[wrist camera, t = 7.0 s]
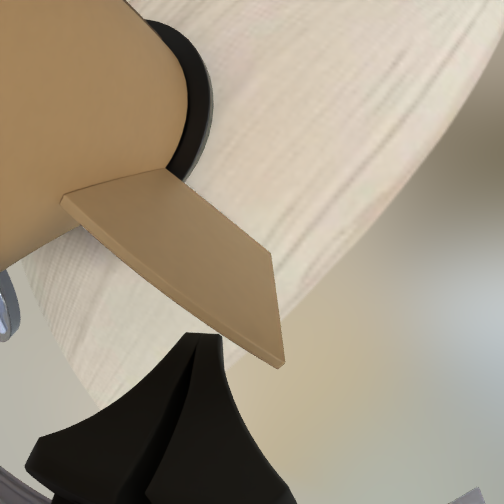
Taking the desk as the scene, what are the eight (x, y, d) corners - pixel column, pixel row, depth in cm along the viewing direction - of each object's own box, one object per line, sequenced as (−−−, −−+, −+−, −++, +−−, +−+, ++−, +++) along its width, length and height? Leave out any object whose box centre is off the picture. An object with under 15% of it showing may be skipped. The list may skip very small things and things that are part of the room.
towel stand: (44, 224, 14) (35, 228, 13) (45, 56, 10) (36, 53, 9) (213, 220, 14) (211, 225, 13) (217, 10, 10) (215, 2, 9)
